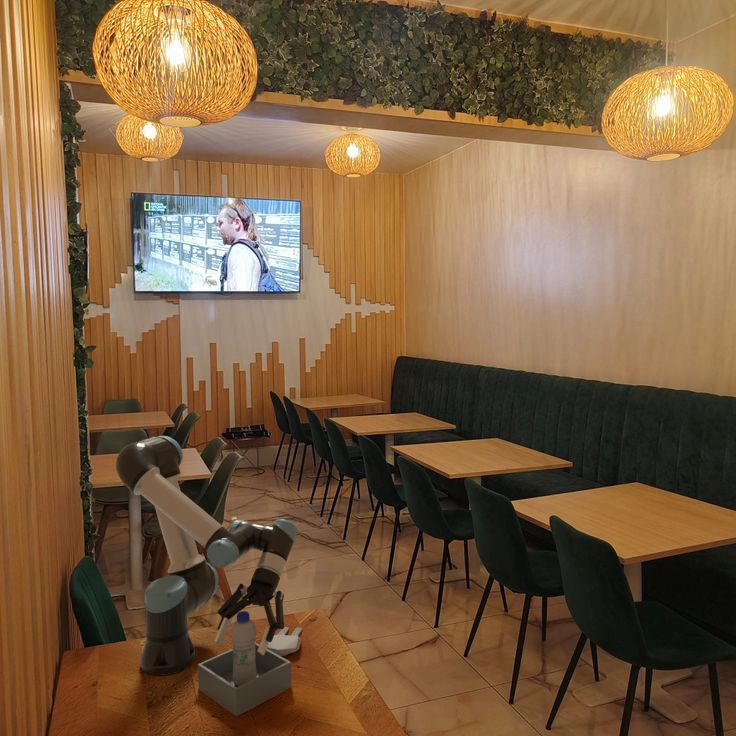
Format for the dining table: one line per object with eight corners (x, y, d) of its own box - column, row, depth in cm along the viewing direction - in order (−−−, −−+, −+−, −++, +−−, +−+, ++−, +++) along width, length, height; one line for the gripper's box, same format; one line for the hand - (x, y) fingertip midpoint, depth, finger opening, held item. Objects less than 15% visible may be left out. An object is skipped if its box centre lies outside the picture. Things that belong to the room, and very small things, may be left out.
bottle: (251, 692, 167) (250, 618, 166) (228, 690, 168) (226, 616, 167) (261, 678, 174) (259, 607, 172) (238, 676, 175) (236, 605, 174)
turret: (308, 637, 203) (308, 622, 204) (294, 660, 184) (294, 643, 184) (277, 636, 204) (278, 621, 205) (261, 659, 185) (261, 642, 185)
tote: (198, 689, 171) (197, 664, 170) (252, 663, 183) (251, 640, 183) (236, 716, 159) (235, 689, 158) (291, 687, 171) (290, 662, 171)
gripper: (311, 584, 178) (285, 662, 166) (237, 572, 188) (207, 644, 176) (301, 573, 173) (273, 652, 160) (226, 560, 183) (193, 634, 170)
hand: (238, 648), depth 168 cm, fingers open, 13 cm apart
